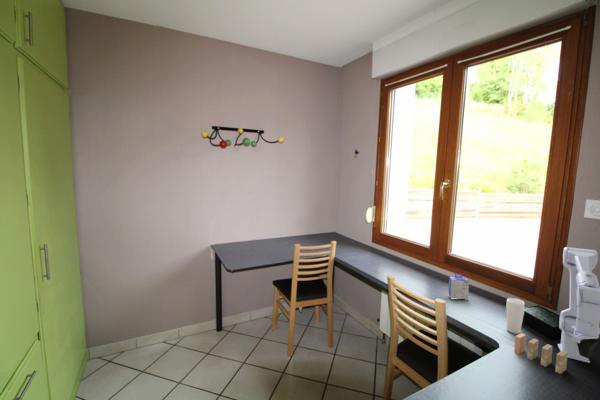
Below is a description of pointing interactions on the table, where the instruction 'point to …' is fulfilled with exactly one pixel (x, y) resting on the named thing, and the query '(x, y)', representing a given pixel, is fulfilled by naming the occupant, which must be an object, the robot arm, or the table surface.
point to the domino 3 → (561, 362)
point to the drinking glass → (514, 314)
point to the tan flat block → (546, 355)
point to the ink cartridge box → (458, 287)
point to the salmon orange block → (520, 343)
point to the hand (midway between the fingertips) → (584, 356)
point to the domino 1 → (532, 349)
